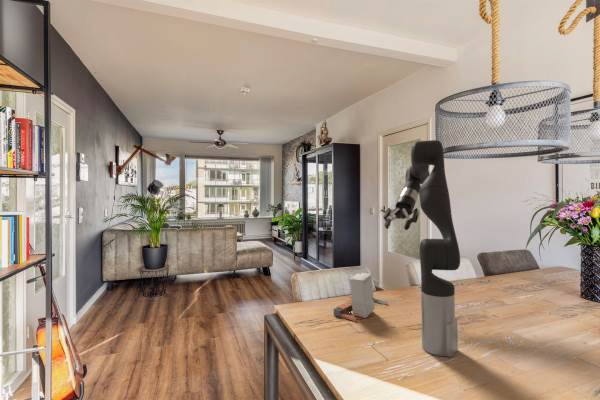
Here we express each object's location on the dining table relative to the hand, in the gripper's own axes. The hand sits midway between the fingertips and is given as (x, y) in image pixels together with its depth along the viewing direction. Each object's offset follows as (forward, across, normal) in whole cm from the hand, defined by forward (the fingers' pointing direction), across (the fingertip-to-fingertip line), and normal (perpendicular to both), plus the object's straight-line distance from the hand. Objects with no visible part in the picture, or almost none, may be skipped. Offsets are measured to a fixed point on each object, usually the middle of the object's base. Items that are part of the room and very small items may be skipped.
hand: (395, 228), depth 131 cm
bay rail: (+32, -9, +14) cm, 36 cm away
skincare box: (+35, -6, +11) cm, 37 cm away
